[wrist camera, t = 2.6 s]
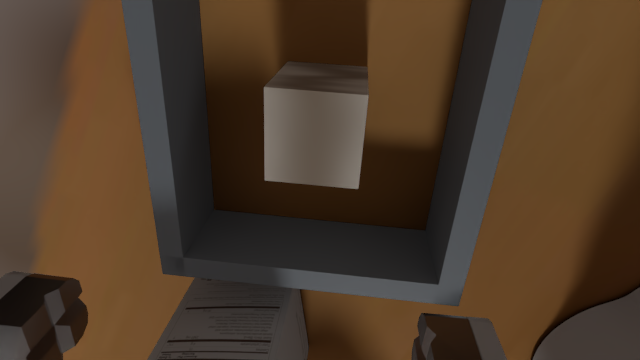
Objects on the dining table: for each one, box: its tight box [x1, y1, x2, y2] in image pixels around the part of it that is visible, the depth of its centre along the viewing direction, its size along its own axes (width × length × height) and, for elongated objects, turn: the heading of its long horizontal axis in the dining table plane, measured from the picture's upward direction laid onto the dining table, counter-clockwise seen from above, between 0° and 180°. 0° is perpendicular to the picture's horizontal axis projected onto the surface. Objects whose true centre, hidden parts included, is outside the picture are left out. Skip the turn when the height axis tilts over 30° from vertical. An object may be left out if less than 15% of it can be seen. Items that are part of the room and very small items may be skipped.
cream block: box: [264, 61, 369, 189], centre depth 23 cm, size 5×5×7 cm
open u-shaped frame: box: [122, 0, 542, 306], centre depth 25 cm, size 19×18×6 cm
